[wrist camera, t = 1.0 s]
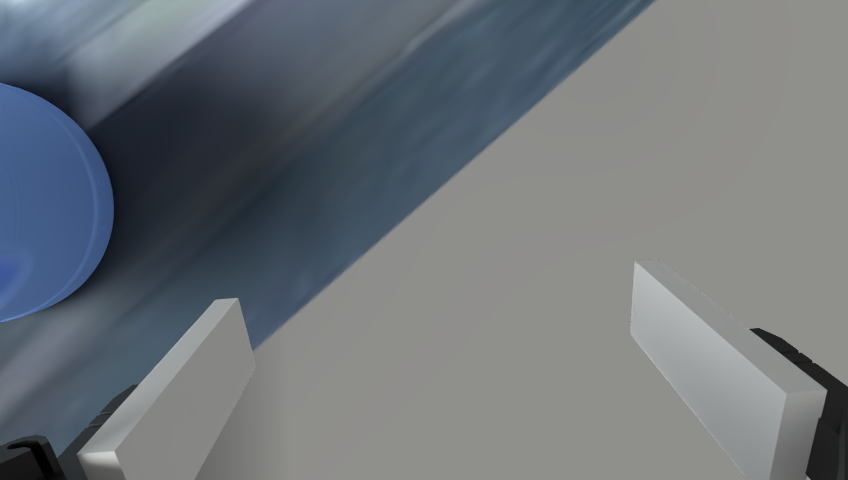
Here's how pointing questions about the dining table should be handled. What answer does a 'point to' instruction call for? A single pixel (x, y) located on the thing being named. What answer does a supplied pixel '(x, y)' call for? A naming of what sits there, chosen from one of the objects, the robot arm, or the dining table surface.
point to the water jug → (47, 204)
